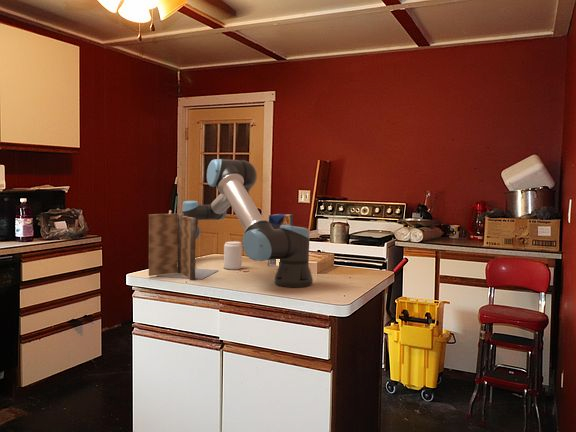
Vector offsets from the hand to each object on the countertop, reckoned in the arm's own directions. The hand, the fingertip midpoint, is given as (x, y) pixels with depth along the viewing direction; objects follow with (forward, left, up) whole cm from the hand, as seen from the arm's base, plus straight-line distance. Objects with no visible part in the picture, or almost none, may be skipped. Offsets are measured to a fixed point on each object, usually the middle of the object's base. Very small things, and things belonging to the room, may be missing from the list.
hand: (160, 241), depth 220 cm
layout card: (-11, -4, -14) cm, 18 cm away
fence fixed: (-13, +3, -14) cm, 19 cm away
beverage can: (-25, -22, -14) cm, 36 cm away
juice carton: (-43, -40, -14) cm, 61 cm away
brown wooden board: (-3, +4, -13) cm, 14 cm away
